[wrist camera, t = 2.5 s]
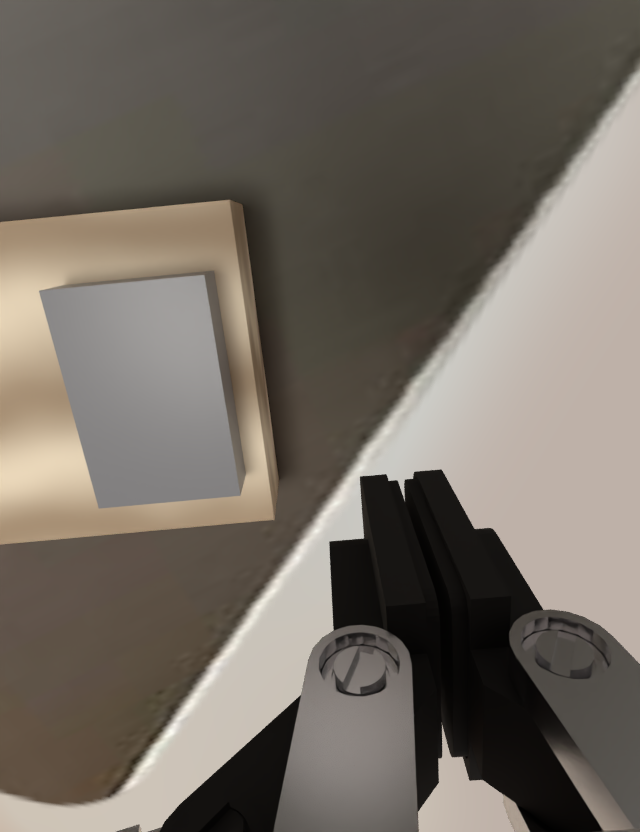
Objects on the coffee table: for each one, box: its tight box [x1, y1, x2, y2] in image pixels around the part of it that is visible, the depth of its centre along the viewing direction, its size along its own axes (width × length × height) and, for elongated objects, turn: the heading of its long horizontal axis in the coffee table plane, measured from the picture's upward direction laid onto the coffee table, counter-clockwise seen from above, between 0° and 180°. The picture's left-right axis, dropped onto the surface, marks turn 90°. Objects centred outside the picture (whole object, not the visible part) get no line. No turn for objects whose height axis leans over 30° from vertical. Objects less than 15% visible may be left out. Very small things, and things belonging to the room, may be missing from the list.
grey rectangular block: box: [39, 271, 246, 509], centre depth 21 cm, size 9×6×2 cm, turn 5°
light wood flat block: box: [0, 200, 279, 544], centre depth 24 cm, size 14×18×4 cm
